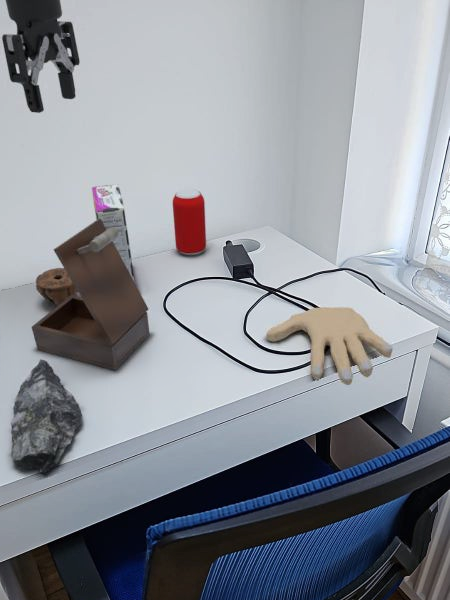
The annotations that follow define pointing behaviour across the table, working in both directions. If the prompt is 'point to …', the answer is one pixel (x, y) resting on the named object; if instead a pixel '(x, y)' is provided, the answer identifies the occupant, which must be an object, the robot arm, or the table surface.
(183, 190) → the beverage can
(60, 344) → the brown wooden box
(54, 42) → the robot arm
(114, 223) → the candy bar box
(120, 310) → the cover
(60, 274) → the artifact
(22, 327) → the table surface
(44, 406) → the rock
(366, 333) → the hand model
